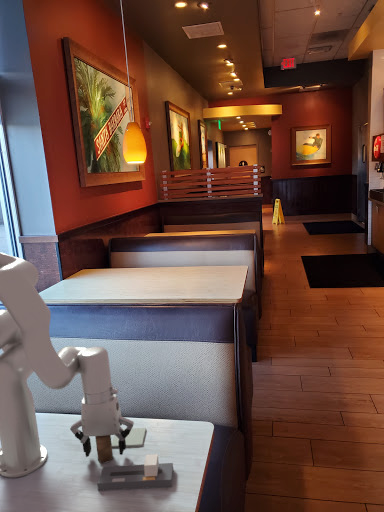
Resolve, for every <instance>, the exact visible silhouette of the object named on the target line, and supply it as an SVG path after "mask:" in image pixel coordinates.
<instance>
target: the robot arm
mask: <svg viewBox="0 0 384 512" xmlns="http://www.w3.org/2000/svg"><path fill="white" fill-rule="evenodd" d="M39 279H40V275H39V271H38V269H37V267H36V266H35V265H34V264H33V263H31V262H30V261H28V260H25V259H23V258H21V257H18V256H13V255H11V254H6V253H3V252H1V251H0V302H1V304H2V305H3V306H4V308H5V309H0V350H2V352H3V353H1V354H0V446H1V447H0V475H1V476H2V477H5V478H9V479H10V478H12V479H13V478H19V477H23V476H26V475H30V474H32V473H34V472H35V471H36V470H38V469H39V468H41V467H42V466H43V465H44V464H45V462H46V461H47V458H48V450H47V448H46V447H45V446H43V445H42V444H41V441H40V436H39V435H40V434H39V429H38V423H37V415H36V409H35V403H34V402H35V401H34V396H33V394H32V392H31V389H30V387H29V385H28V382H27V381H28V379H29V378H30V376H31V375H32V374H33V373H35V374H36V376H37V378H39V380H40V381H41V382H42V383H43V384H44V385H45V386H46V387H47V388H49V389H51V390H56V391H58V390H62V389H65V388H66V387H67V386H69V385H70V384H71V383H72V381H73V380H74V378H75V377H76V375H78V374H80V379H81V380H80V381H81V386H82V394H83V398H82V399H81V411H80V413H81V414H80V417H81V418H80V419H79V420H78V421H76V422H75V423H73V424H71V426H70V431H71V432H72V434H73V435H74V437H75V438H76V439H77V440H78V441H80V443H81V444H82V448H83V449H82V450H83V453H85V454H84V455H85V458H88V457H89V456H90V454H91V452H92V443H91V442H92V441H91V438H90V437H95V436H106V435H111V436H114V435H116V436H117V437H118V438H119V441H118V444H119V447H118V451H119V452H118V454H119V455H121V456H122V455H123V454H124V451H126V450H127V447H126V441H125V438H126V437H127V436H128V435H129V433H130V431H131V429H133V428H134V424H135V421H133V420H131V419H128V418H126V417H124V416H122V411H121V407H120V402H119V399H118V397H117V394H118V392H119V391H118V390H119V389H118V388H115V387H114V386H113V384H112V377H111V368H110V367H111V366H110V361H109V360H110V358H109V353H108V351H107V349H106V348H105V347H103V346H92V347H90V346H89V347H81V346H80V347H79V346H74V345H70V346H65V347H64V346H63V347H62V348H61V349H59V350H58V351H57V350H56V349H55V348H54V345H53V344H52V343H53V342H52V340H51V336H50V323H51V309H50V308H49V306H48V305H47V304H46V303H45V301H44V299H43V298H42V296H41V295H40V293H39V292H38V290H37V289H36V287H35V286H36V285H37V284H38V283H39ZM123 425H124V426H126V428H123V427H122V426H123ZM80 427H81V430H80V429H79V428H80ZM123 429H125V430H123Z"/></svg>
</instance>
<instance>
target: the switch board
mask: <svg viewBox="0 0 384 512" xmlns="http://www.w3.org/2000/svg"><path fill="white" fill-rule="evenodd" d="M173 477H174V463H173V462H168V463H167V462H166V463H159V467H158V474H157V476H146V477H145V471H144V464H129V465H128V464H127V465H111V466H110V465H108V466H103V467H102V470H101V472H100V475H99V479H98V481H97V489H98V492H99V491H115V490H116V491H118V490H137V489H138V490H139V489H157V488H172V487H173Z"/></svg>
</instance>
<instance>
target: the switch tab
mask: <svg viewBox="0 0 384 512" xmlns="http://www.w3.org/2000/svg"><path fill="white" fill-rule="evenodd" d="M159 464H160V463H159V454H158V453H155V454H146V455H145V457H144V471H145V477H146V476H157V474H158V467H159Z"/></svg>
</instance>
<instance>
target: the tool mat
mask: <svg viewBox="0 0 384 512" xmlns="http://www.w3.org/2000/svg"><path fill="white" fill-rule="evenodd" d="M122 429H123V430H125V429H126V428H122ZM146 431H147V428H146V427H139V428H137V427H136V428H134V427H132V429H131V431H130V433H129V435H128V436H127V437H126V438H125V441H126V448H133V447H134V448H135V447H137V448H138V447H143V445H144V440H145V435H146ZM118 441H119V438H118V437H117V436H116V435H113V438H112V440H111V444H112V449H113V448H114V449H115V448H118V449H119V444H118Z"/></svg>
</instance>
